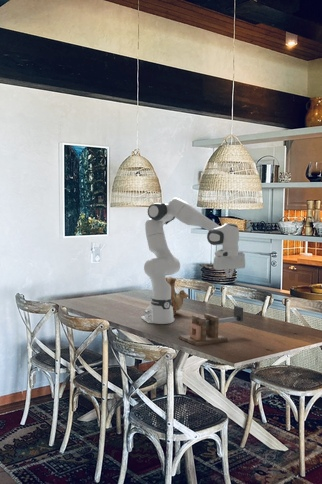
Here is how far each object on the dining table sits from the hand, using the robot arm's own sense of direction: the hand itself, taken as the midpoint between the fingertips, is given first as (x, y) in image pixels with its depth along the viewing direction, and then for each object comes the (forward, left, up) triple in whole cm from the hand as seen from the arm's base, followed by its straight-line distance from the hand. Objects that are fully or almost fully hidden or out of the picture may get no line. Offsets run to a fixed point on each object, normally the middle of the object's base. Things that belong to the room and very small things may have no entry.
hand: (229, 276), depth 293 cm
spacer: (+8, -28, -26) cm, 39 cm away
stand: (+8, -22, -31) cm, 39 cm away
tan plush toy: (-54, -4, -31) cm, 62 cm away
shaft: (+8, -11, -23) cm, 27 cm away
